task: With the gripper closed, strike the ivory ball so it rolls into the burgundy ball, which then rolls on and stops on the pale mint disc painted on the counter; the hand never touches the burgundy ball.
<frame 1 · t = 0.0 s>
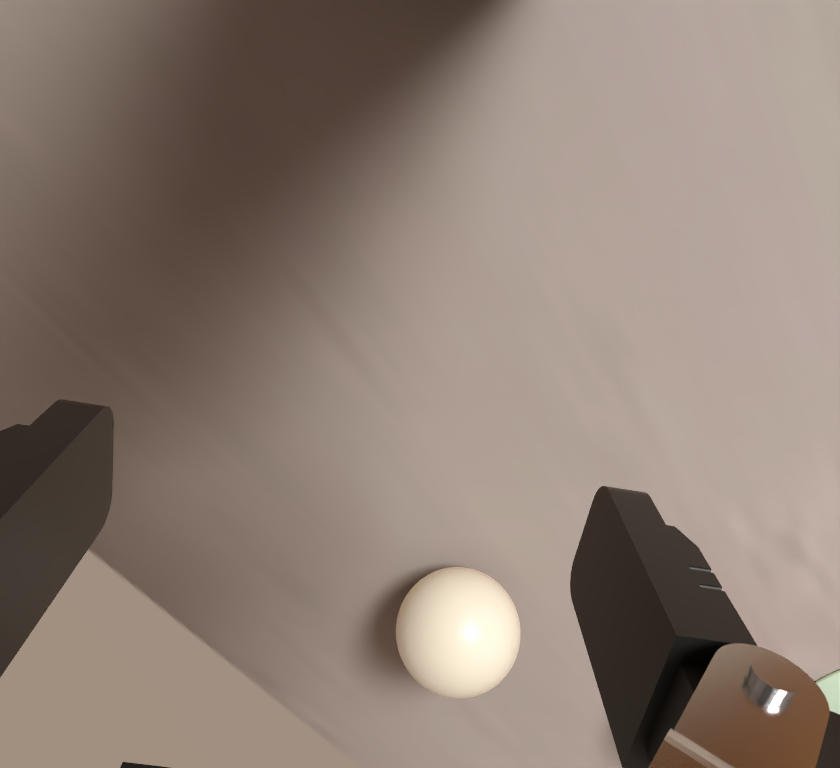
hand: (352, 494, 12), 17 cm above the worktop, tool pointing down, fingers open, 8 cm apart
ivory ball: (457, 630, 32), on the worktop
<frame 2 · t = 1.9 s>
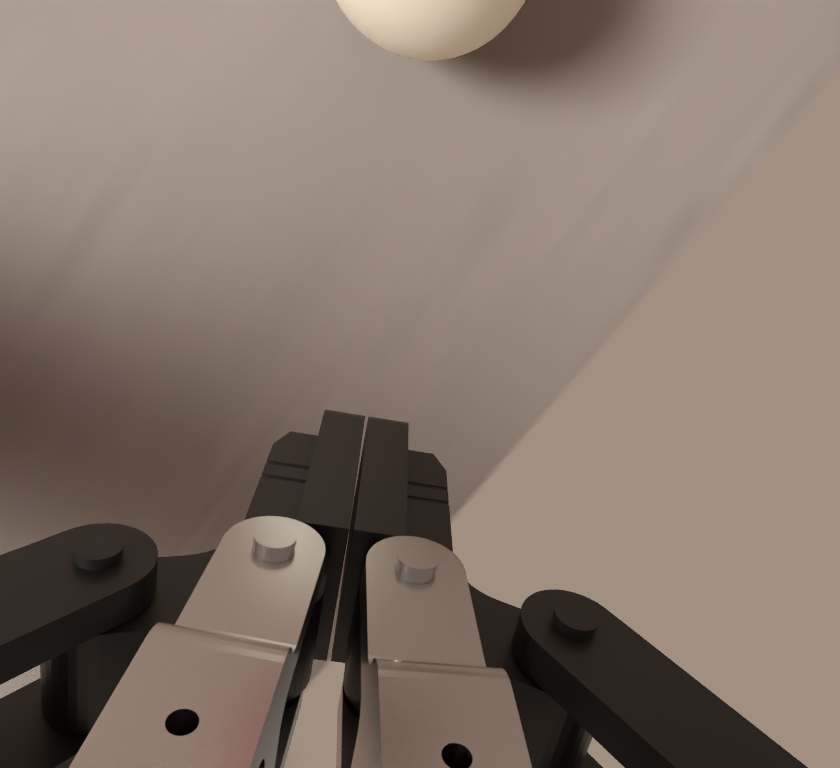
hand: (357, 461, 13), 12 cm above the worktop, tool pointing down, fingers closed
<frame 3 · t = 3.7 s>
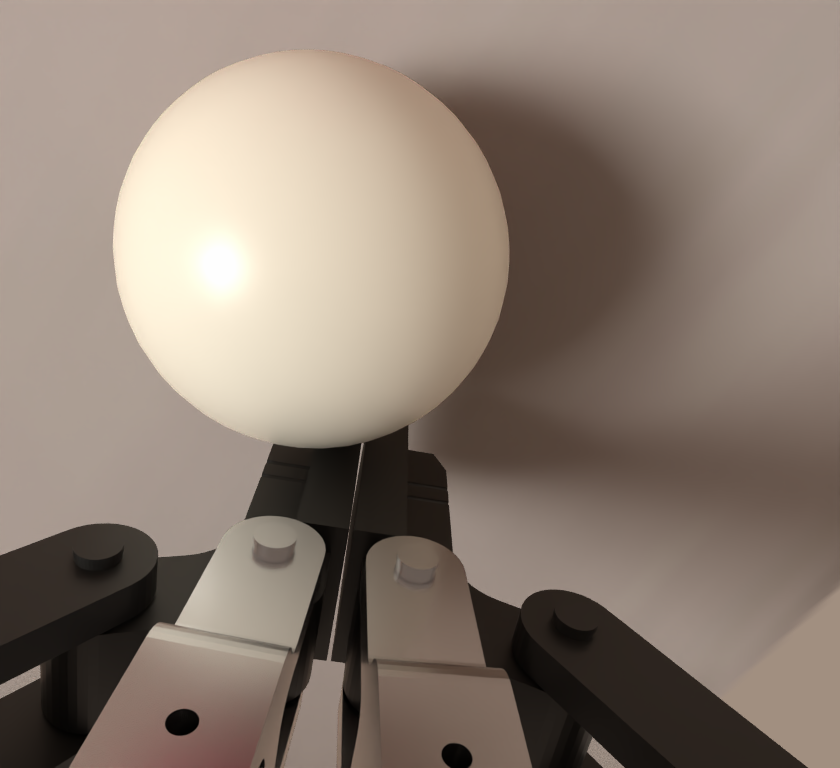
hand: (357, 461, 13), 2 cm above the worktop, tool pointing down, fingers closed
ivory ball: (318, 258, 11), on the worktop, touching gripper
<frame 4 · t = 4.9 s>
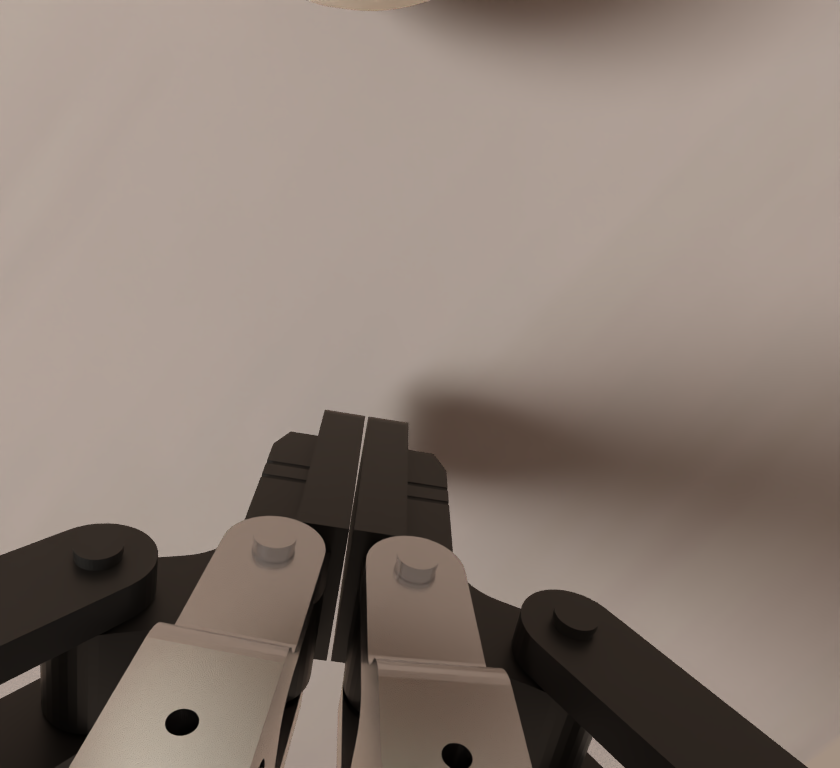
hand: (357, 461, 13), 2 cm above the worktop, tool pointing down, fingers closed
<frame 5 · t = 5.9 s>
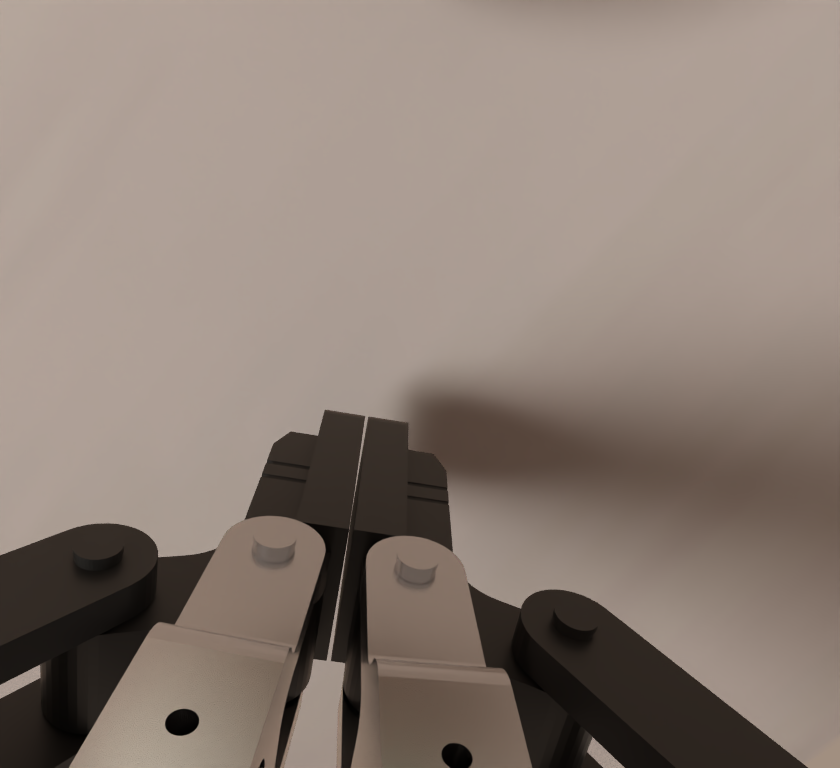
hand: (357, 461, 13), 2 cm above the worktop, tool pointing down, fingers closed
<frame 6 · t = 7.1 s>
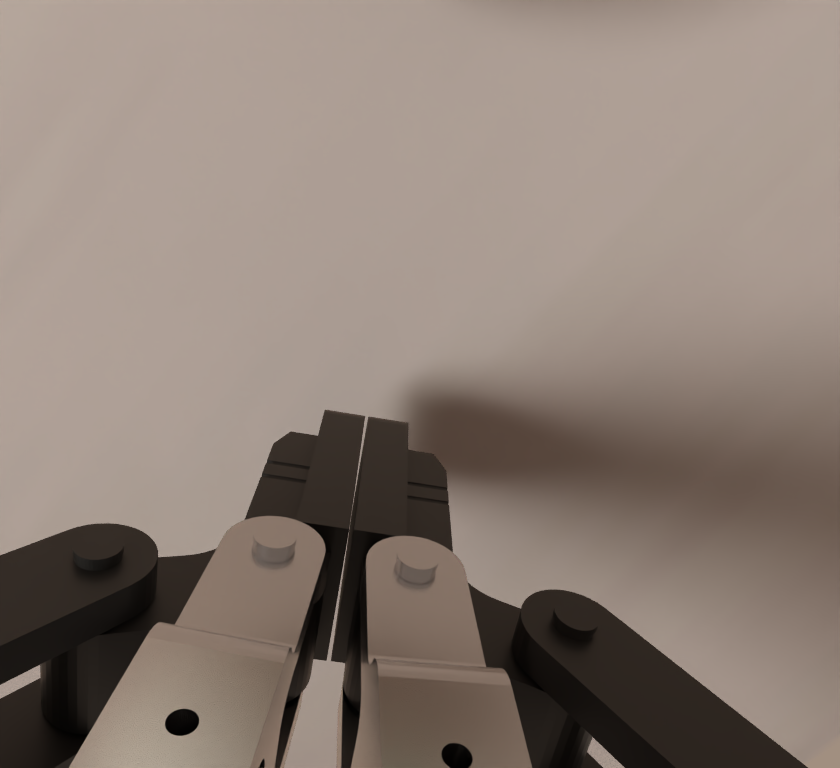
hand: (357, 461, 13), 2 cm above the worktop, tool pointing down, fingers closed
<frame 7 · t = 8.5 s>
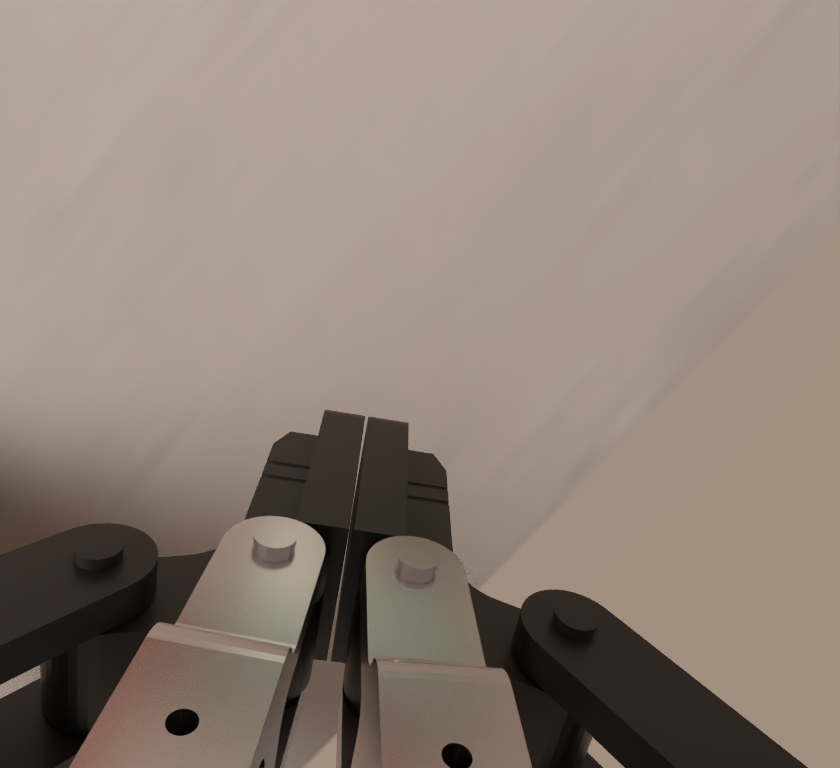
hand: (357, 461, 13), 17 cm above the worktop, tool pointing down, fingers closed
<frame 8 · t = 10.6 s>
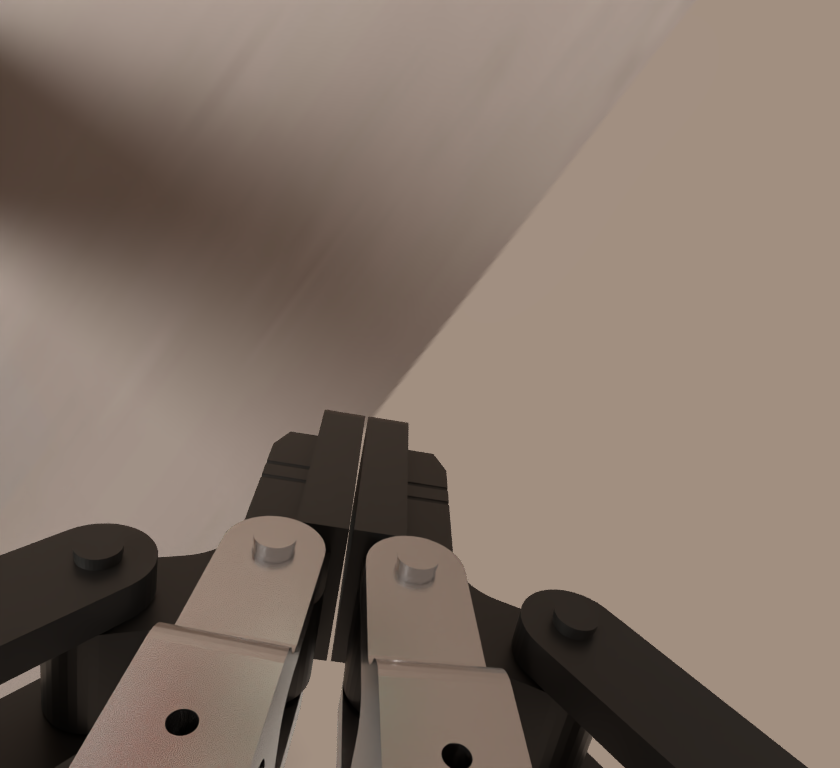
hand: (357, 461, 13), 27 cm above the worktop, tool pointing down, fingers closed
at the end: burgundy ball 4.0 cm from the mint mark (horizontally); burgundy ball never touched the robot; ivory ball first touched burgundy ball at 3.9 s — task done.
